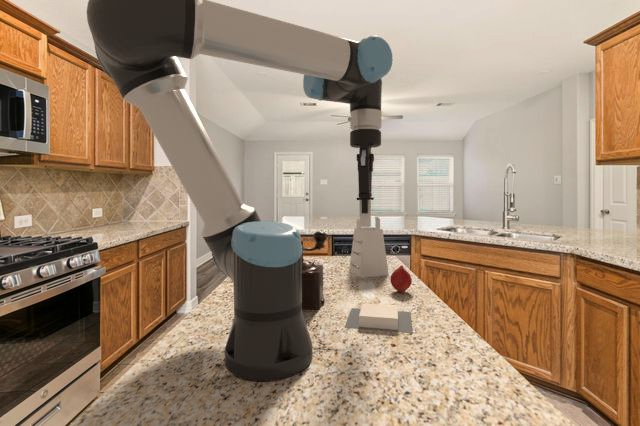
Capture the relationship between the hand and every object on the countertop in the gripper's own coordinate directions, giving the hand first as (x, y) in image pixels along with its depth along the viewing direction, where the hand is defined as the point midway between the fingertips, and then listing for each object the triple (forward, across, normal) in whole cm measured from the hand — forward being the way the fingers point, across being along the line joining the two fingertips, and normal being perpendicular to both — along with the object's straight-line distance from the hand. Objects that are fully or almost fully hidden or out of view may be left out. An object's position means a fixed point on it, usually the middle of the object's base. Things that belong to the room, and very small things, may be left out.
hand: (365, 226), depth 84 cm
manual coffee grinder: (+21, -1, -16) cm, 26 cm away
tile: (+19, +6, +4) cm, 20 cm away
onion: (+20, -13, +9) cm, 26 cm away
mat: (+20, +9, +4) cm, 23 cm away
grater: (+20, -35, -2) cm, 41 cm away
